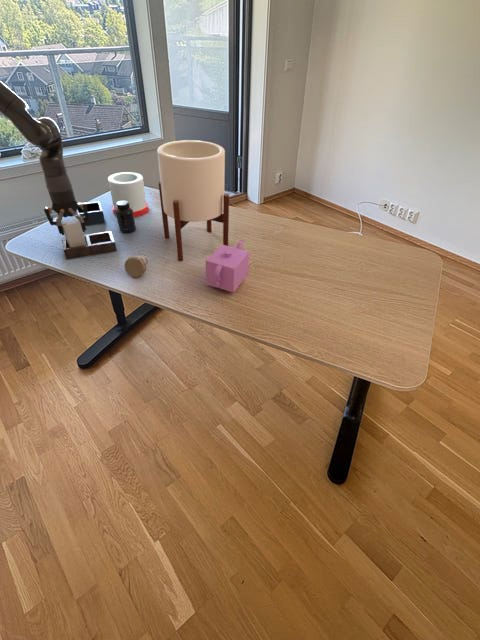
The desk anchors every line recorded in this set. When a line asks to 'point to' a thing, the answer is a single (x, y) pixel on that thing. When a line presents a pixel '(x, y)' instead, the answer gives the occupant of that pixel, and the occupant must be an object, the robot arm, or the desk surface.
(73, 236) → the cosmetic box
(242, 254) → the teapot
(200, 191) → the planter
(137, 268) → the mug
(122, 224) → the supplement bottle
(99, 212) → the dark grey open box
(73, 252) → the box
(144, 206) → the container
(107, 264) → the desk surface
